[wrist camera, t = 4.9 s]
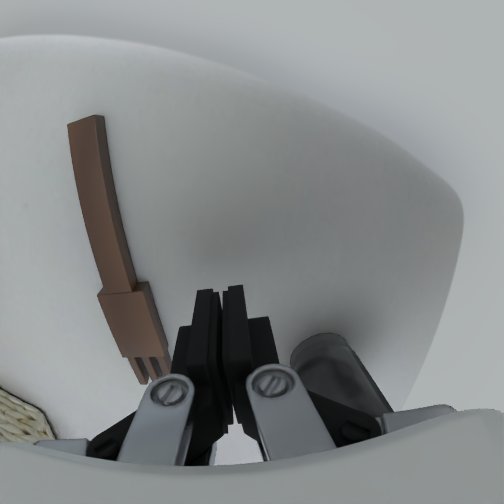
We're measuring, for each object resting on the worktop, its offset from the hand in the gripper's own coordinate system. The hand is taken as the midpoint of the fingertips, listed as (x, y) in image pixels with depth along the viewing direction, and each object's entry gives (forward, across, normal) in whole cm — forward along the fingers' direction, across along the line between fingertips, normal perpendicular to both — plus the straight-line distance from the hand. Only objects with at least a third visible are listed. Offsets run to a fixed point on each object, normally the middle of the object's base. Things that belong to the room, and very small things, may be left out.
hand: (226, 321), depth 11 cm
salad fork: (+6, +6, -1) cm, 9 cm away
